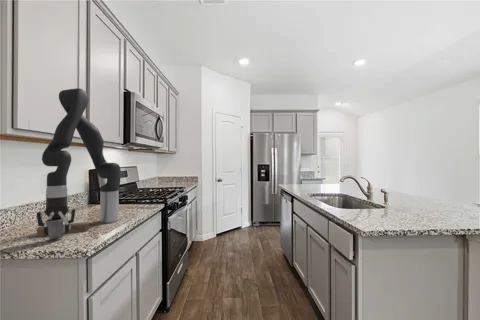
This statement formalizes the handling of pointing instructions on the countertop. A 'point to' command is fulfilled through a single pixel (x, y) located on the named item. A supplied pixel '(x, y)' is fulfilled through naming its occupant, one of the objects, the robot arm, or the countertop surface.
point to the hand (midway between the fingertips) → (56, 233)
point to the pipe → (56, 228)
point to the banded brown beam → (74, 228)
